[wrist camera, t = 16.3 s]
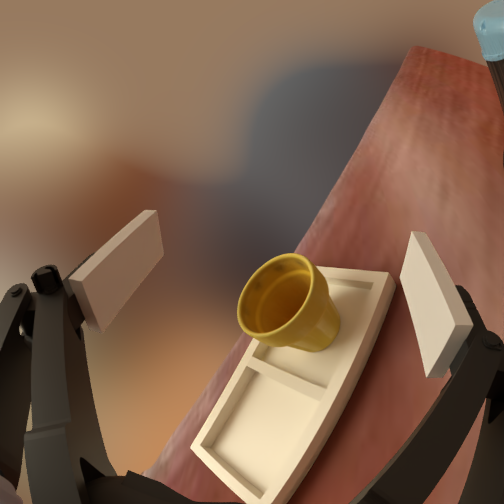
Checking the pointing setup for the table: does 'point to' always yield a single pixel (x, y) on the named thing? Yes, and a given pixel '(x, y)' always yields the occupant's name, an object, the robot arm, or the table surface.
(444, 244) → the table surface
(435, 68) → the table surface
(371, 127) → the table surface
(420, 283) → the robot arm
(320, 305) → the plant pot
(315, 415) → the divided tray
